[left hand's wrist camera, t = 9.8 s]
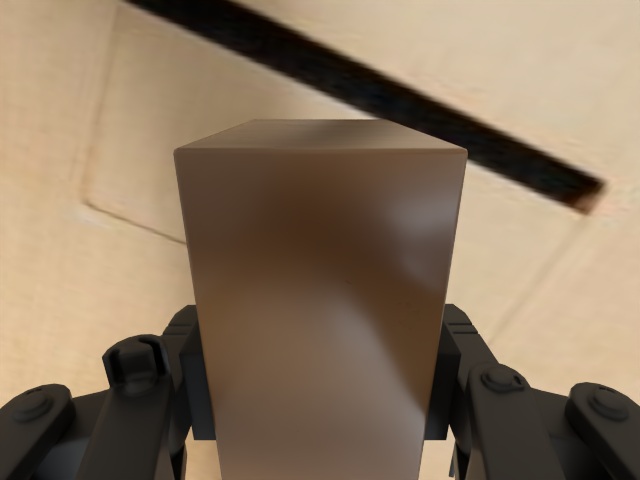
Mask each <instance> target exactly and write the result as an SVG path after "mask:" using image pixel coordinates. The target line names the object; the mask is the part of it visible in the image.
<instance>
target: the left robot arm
mask: <svg viewBox="0 0 640 480" xmlns="http://www.w3.org/2000/svg"><path fill="white" fill-rule="evenodd" d="M102 360H103V363H104V367H105V370H106V374H107V378H108V381H109V385H110V388H109V389H107V390H104V391H101V392H97V393H93V394H88V395H84V396H79V397H75V398H72V395H71V392H70V390H69V389H68V388H67V387H66V386H65V385H60V384H48V385H42V386H39V387H36V388H33V389H30V390H27V391H25V392H24V393H22V394H20V395H18V396H16V397H14V398H13V399H12V400H10V401H9V402H8V403H7V404H5V405H4V406H3V407H2V408H1V409H0V480H185V473H186V462H187V451H186V445H185V440H186V437H187V435H188V432H189V429H190V427H191V426H192V431H193V437H194V440H216V435H215V428H214V421H213V415H212V408H211V401H210V395H209V388H208V381H207V375H206V368H205V361H204V355H203V348H202V341H201V335H200V328H199V321H198V315H197V308H196V305H187V306H186V307H184V308H183V309H181V310H180V311H179V312H177V313H176V314H175V315H174V317H173V318H172V320H171V321H170V323H169V324H168V326H167V327H166V329H165V330H164V332H163V335H161V336H156V335H153V334H144V335H137V336H133V337H129V338H126V339H124V340H122V341H120V342H117V343H116V344H115V345H113V346H112V347H110V348H109V349H108V350H107V351H106V352H105V354H104V355H103V356H102ZM449 425H450V427H451V430H452V432H453V435H454V437H455V445H454V450H453V455H452V460H451V465H450V471H449V477H454V472H455V480H640V406H639V405H637V404H636V403H635V402H634V401H632V400H631V399H630V398H629V397H627V396H626V395H624V394H622V393H620V392H618V391H616V390H615V389H612V388H609V387H607V386H604V385H601V384H596V383H589V382H584V383H578V384H576V385H574V386H573V387H572V388H571V390H570V393H569V396H568V397H567V396H563V395H558V394H554V393H550V392H545V391H541V390H538V389H534V388H531V387H530V385H529V384H528V382H527V381H526V379H525V378H524V377H523V376H522V375H521V374H519V373H518V372H517V371H516V370H514V369H512V368H510V367H508V366H506V365H503V364H499V363H498V361H497V360H496V358H495V357H494V355H493V354H492V352H491V351H490V349H489V348H488V346H487V345H486V343H485V342H484V340H483V339H482V337H481V336H480V334H478V331H477V330H476V328H475V327H474V325H472V322H471V321H470V319H469V318H468V316H467V315H466V313H465V312H463V311H462V310H460V309H459V308H458V307H456V306H455V305H454V304H445V306H444V313H443V320H442V326H441V333H440V339H439V346H438V352H437V359H436V366H435V372H434V379H433V385H432V392H431V398H430V405H429V412H428V418H427V425H426V431H425V438H424V440H446V438H447V432H448V427H449Z"/></svg>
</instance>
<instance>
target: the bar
mask: <svg viewBox="0 0 640 480" xmlns="http://www.w3.org/2000/svg"><path fill="white" fill-rule="evenodd" d="M173 155H174V161H175V168H176V175H177V181H178V188H179V195H180V201H181V208H182V215H183V221H184V228H185V235H186V241H187V248H188V255H189V261H190V268H191V275H192V281H193V288H194V295H195V301H196V308H197V315H198V321H199V328H200V335H201V341H202V348H203V355H204V361H205V368H206V375H207V381H208V388H209V395H210V401H211V408H212V415H213V421H214V428H215V435H216V441H217V448H218V455H219V461H220V468H221V475H222V480H418V477H419V471H420V464H421V458H422V451H423V445H424V438H425V431H426V425H427V418H428V412H429V405H430V398H431V392H432V385H433V379H434V372H435V366H436V359H437V352H438V346H439V339H440V333H441V326H442V320H443V313H444V306H445V300H446V293H447V287H448V280H449V274H450V267H451V260H452V254H453V247H454V241H455V234H456V228H457V221H458V214H459V208H460V201H461V195H462V188H463V182H464V175H465V168H466V162H467V155H468V153H467V150H466V149H464V148H462V147H459V146H456V145H454V144H451V143H448V142H445V141H443V140H440V139H437V138H435V137H432V136H429V135H426V134H424V133H421V132H418V131H416V130H413V129H410V128H407V127H405V126H402V125H399V124H397V123H394V122H391V121H388V120H252V121H249V122H246V123H244V124H241V125H238V126H236V127H233V128H230V129H227V130H225V131H222V132H219V133H217V134H214V135H211V136H209V137H206V138H203V139H201V140H198V141H195V142H192V143H190V144H187V145H184V146H182V147H179V148H177V149H174V153H173Z"/></svg>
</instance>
